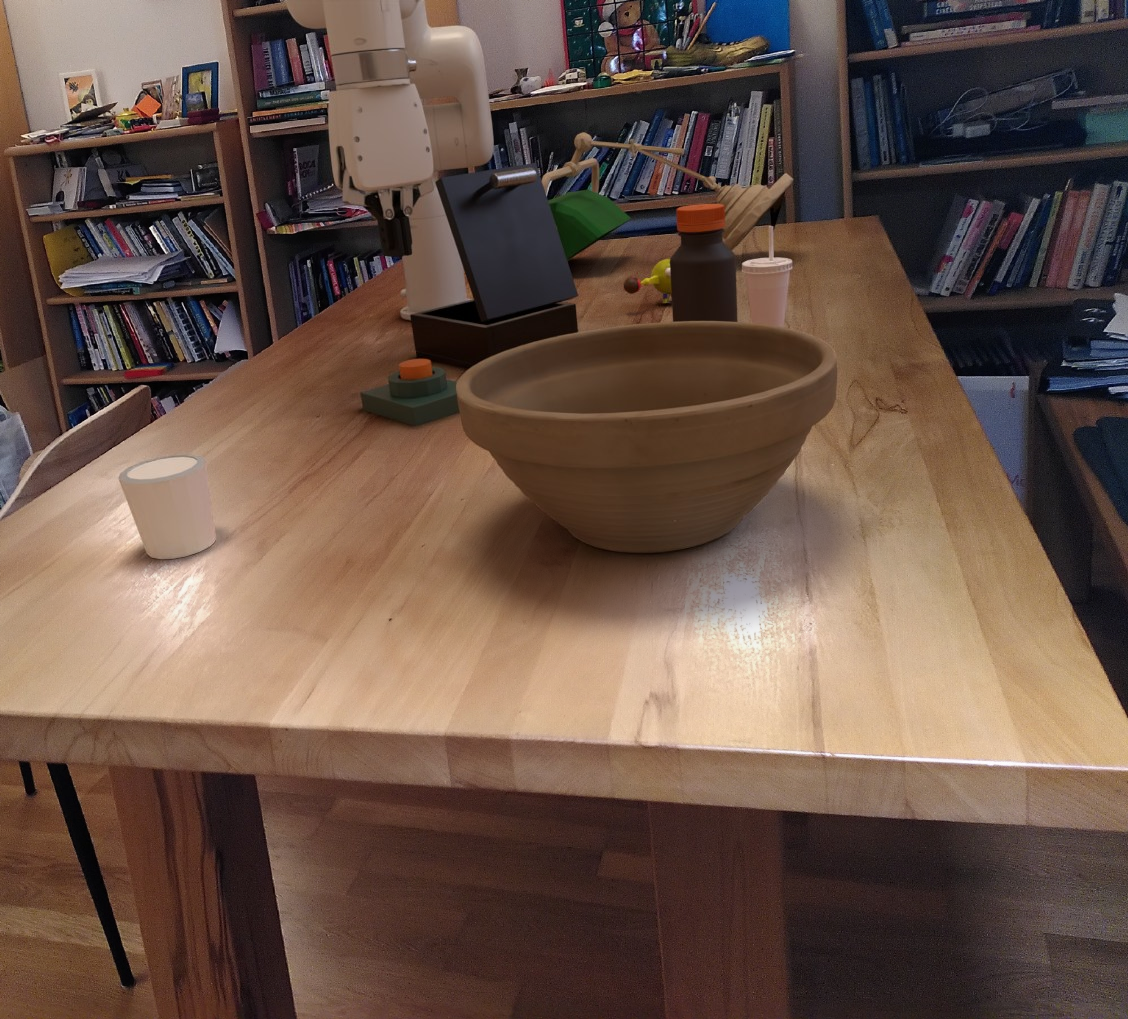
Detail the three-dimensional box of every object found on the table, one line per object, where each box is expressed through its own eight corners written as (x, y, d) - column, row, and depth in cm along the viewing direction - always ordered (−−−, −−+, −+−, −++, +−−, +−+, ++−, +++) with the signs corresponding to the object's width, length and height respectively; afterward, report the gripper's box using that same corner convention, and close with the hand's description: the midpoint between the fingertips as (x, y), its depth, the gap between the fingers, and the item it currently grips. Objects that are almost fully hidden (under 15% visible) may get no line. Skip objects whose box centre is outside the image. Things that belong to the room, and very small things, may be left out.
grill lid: (434, 181, 127) (460, 162, 122) (529, 166, 136) (557, 148, 131) (481, 322, 129) (508, 309, 124) (571, 298, 138) (601, 285, 132)
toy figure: (642, 317, 154) (639, 270, 151) (616, 313, 158) (613, 268, 155) (722, 293, 164) (721, 250, 162) (696, 290, 168) (694, 248, 166)
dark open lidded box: (416, 357, 143) (409, 314, 141) (502, 334, 152) (497, 293, 149) (490, 374, 131) (485, 327, 129) (579, 348, 140) (575, 303, 137)
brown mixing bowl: (433, 503, 91) (411, 356, 86) (713, 436, 101) (708, 301, 96) (560, 640, 67) (539, 446, 62) (915, 535, 76) (921, 359, 71)
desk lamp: (676, 342, 217) (537, 216, 215) (819, 183, 196) (666, 43, 195) (635, 390, 186) (473, 244, 185) (798, 208, 166) (617, 43, 165)
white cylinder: (152, 533, 91) (132, 458, 88) (231, 524, 91) (213, 448, 88) (128, 566, 84) (106, 486, 82) (213, 556, 85) (194, 476, 82)
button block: (363, 410, 121) (357, 377, 120) (427, 391, 126) (422, 359, 125) (415, 426, 113) (409, 391, 112) (481, 405, 118) (477, 371, 117)
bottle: (700, 408, 110) (691, 213, 102) (665, 395, 115) (654, 209, 108) (752, 395, 112) (747, 203, 105) (715, 383, 118) (708, 200, 111)
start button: (395, 379, 119) (392, 364, 118) (421, 371, 121) (419, 357, 120) (412, 383, 116) (410, 368, 115) (439, 376, 118) (436, 361, 117)
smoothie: (793, 341, 132) (792, 228, 127) (742, 343, 134) (739, 232, 128) (793, 329, 138) (792, 221, 133) (744, 332, 139) (741, 224, 134)
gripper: (412, 71, 113) (435, 243, 120) (288, 80, 105) (320, 265, 111) (452, 65, 108) (474, 246, 115) (324, 74, 99) (356, 269, 106)
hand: (398, 255), depth 113 cm, fingers closed
